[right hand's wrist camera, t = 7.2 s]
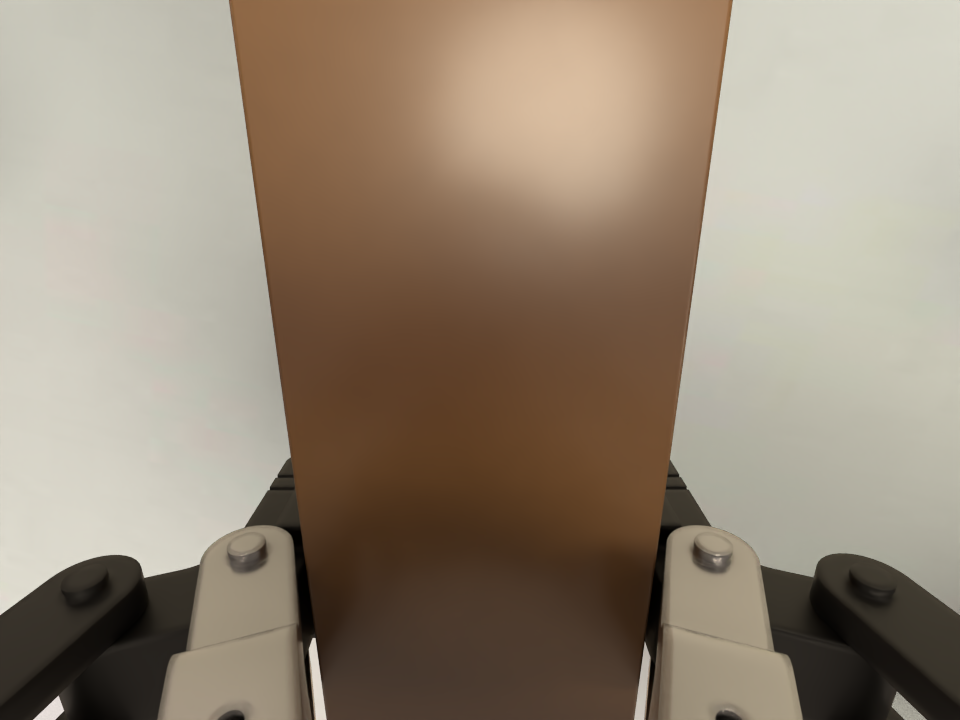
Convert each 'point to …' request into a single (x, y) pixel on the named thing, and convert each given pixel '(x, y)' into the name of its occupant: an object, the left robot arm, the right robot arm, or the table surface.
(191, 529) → the table surface
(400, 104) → the bar
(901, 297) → the table surface
